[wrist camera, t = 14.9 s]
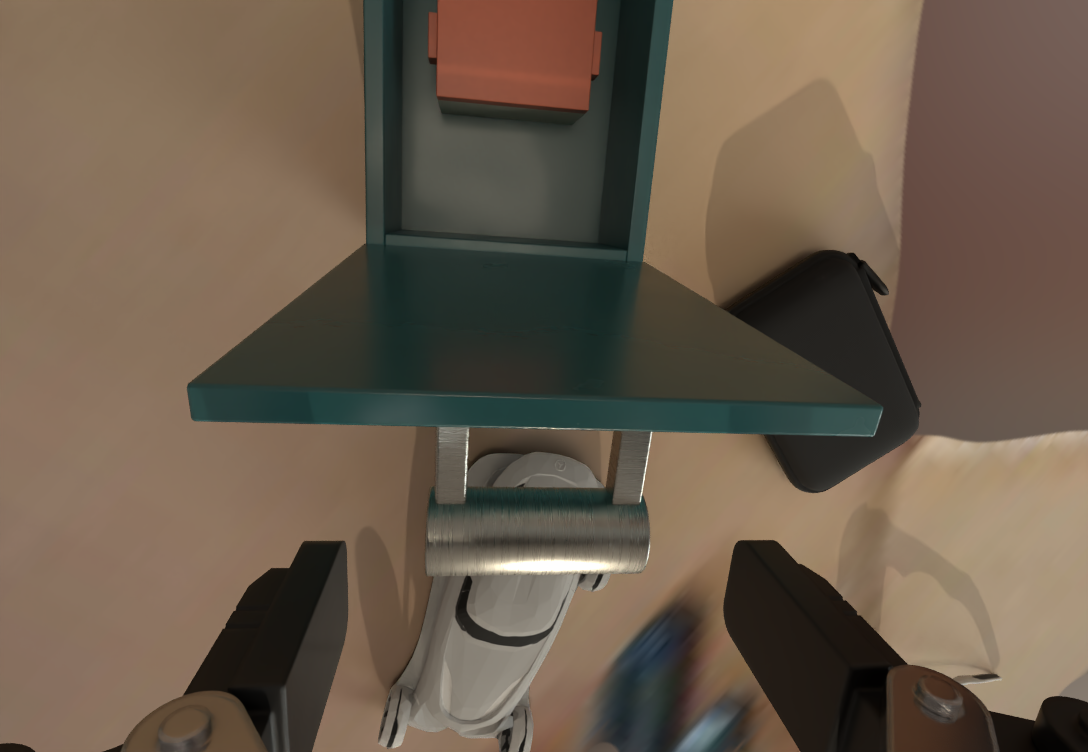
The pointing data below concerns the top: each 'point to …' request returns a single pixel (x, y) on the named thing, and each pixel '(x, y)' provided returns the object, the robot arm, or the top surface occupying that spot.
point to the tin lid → (523, 387)
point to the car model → (488, 630)
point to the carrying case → (835, 360)
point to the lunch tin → (512, 147)
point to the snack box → (515, 58)
